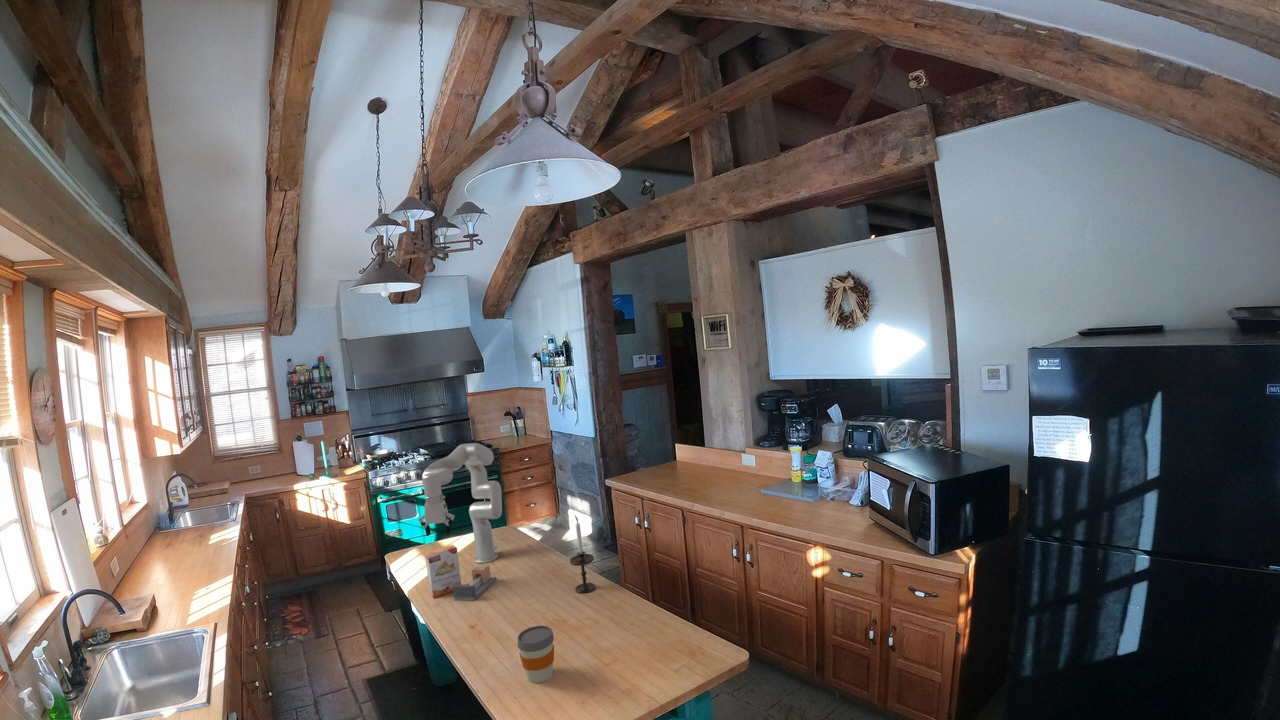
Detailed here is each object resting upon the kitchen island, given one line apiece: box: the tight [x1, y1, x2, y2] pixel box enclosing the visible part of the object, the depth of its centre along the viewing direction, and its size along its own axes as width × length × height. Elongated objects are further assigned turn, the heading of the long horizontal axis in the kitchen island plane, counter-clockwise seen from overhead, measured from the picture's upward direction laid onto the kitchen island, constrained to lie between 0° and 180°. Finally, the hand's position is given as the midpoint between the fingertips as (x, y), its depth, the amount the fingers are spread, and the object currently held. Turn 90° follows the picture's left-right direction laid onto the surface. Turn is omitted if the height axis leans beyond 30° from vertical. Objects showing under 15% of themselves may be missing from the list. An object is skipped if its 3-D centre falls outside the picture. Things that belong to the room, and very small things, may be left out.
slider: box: [471, 564, 492, 584], centre depth 298 cm, size 6×6×7 cm
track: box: [453, 574, 498, 602], centre depth 292 cm, size 22×10×6 cm, turn 165°
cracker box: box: [424, 544, 462, 599], centre depth 293 cm, size 14×6×21 cm, turn 125°
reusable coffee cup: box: [517, 625, 555, 684], centre depth 213 cm, size 13×13×15 cm
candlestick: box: [569, 515, 596, 595], centre depth 279 cm, size 11×11×35 cm
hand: (438, 534), depth 289 cm, fingers open, 9 cm apart
